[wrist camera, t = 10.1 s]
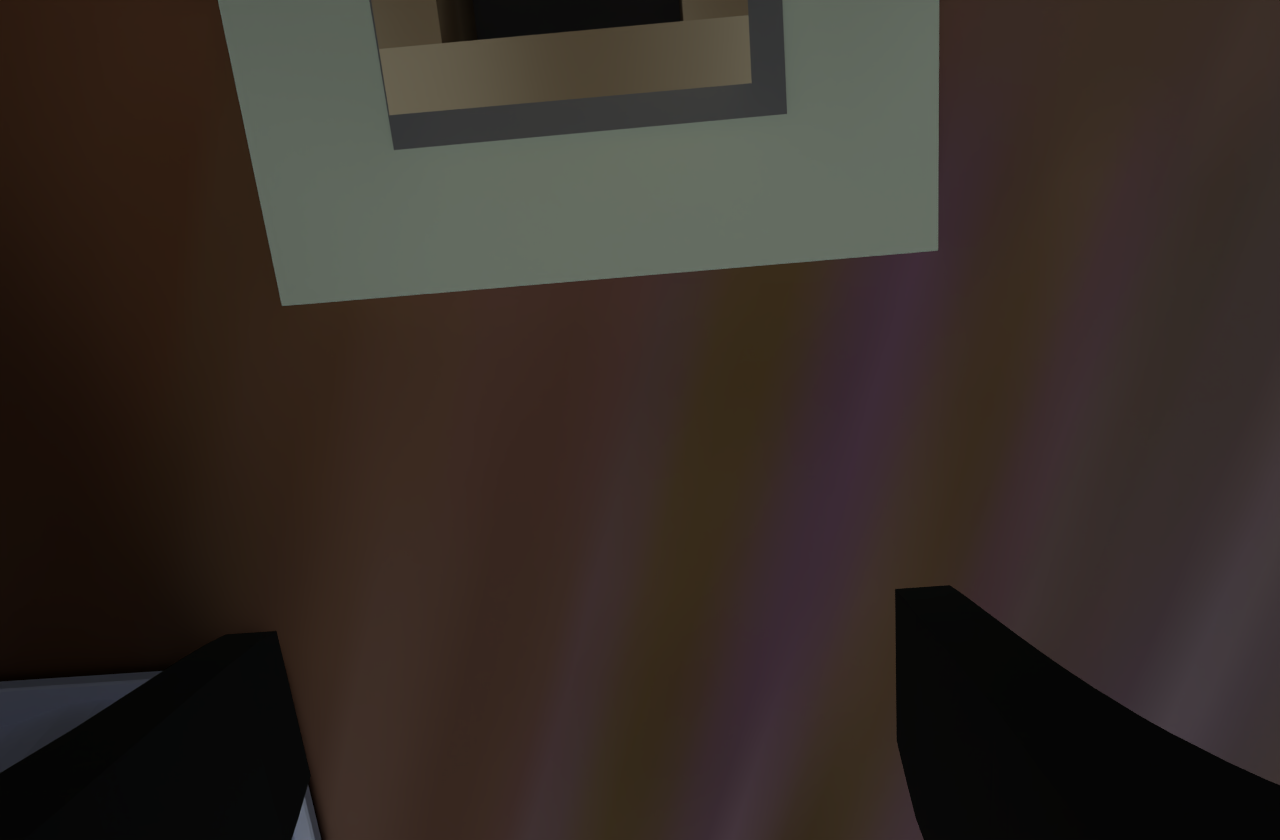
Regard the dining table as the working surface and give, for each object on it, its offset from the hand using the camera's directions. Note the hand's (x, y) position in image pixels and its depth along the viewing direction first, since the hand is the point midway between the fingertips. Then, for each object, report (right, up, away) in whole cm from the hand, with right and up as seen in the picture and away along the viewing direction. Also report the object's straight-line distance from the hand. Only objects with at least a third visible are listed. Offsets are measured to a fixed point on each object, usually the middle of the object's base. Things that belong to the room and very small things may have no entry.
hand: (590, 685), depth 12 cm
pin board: (-1, +12, +6) cm, 13 cm away
